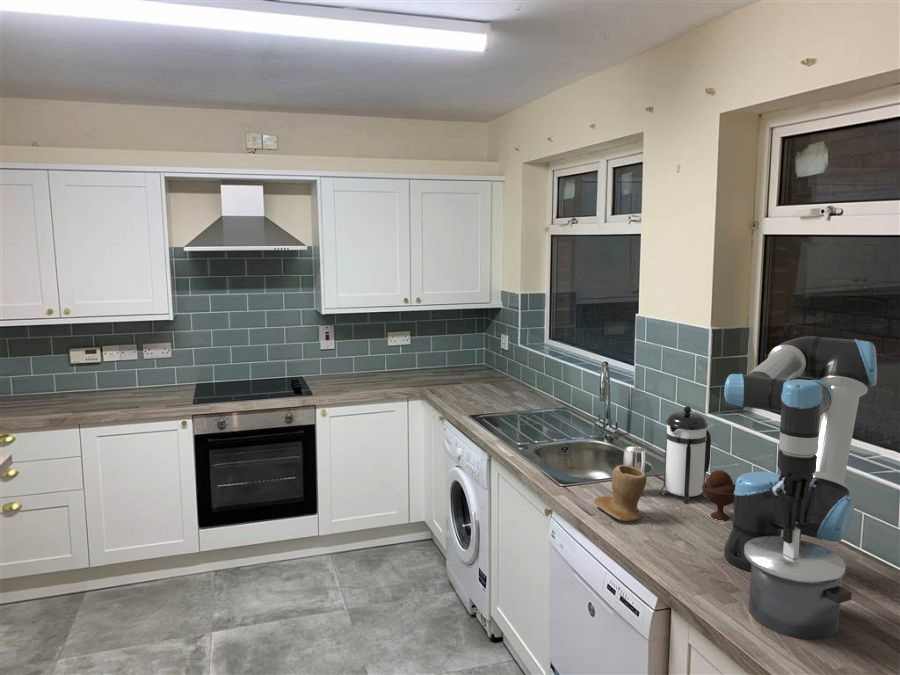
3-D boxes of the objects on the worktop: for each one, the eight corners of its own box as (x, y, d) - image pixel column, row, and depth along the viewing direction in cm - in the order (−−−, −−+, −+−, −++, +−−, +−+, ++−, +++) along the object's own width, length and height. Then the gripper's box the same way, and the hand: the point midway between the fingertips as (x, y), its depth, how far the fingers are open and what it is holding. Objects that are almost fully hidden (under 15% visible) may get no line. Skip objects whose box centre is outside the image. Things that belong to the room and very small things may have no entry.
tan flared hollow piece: (652, 520, 205) (654, 472, 203) (618, 526, 201) (620, 477, 199) (624, 502, 219) (625, 457, 217) (591, 507, 216) (592, 461, 213)
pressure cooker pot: (783, 581, 169) (787, 531, 167) (876, 633, 147) (882, 576, 145) (721, 598, 161) (724, 546, 159) (809, 655, 139) (814, 595, 137)
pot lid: (788, 535, 164) (789, 524, 164) (866, 573, 146) (868, 560, 146) (724, 549, 157) (725, 537, 156) (798, 590, 138) (799, 577, 138)
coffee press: (713, 506, 216) (718, 413, 211) (660, 501, 220) (663, 410, 215) (708, 487, 232) (712, 400, 228) (659, 482, 236) (662, 398, 232)
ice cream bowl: (743, 525, 201) (746, 476, 199) (704, 523, 203) (706, 475, 201) (734, 511, 212) (737, 464, 209) (697, 509, 213) (699, 463, 211)
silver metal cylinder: (630, 487, 232) (632, 444, 230) (648, 493, 227) (650, 449, 225) (618, 492, 228) (619, 448, 226) (635, 498, 223) (637, 453, 220)
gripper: (804, 443, 153) (797, 543, 157) (761, 451, 148) (754, 553, 152) (834, 453, 146) (826, 557, 150) (790, 461, 141) (782, 568, 145)
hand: (790, 555), depth 151 cm, fingers closed
